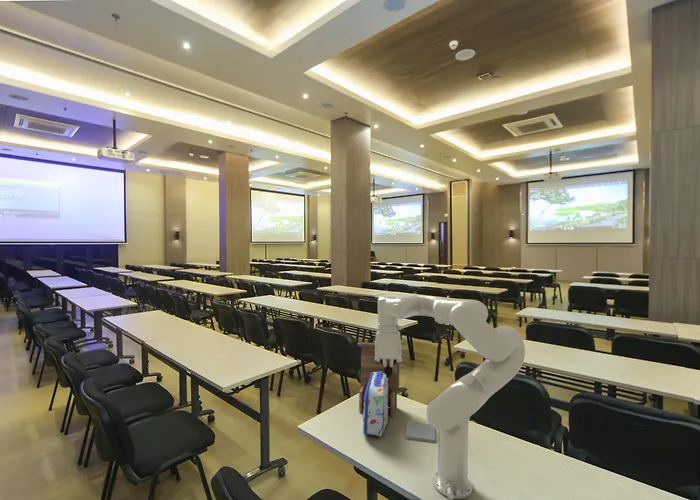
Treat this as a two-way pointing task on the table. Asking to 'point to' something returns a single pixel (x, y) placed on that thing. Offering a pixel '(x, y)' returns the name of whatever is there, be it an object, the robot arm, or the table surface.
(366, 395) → the lunch box
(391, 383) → the display stand
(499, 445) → the table surface
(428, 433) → the notebook
